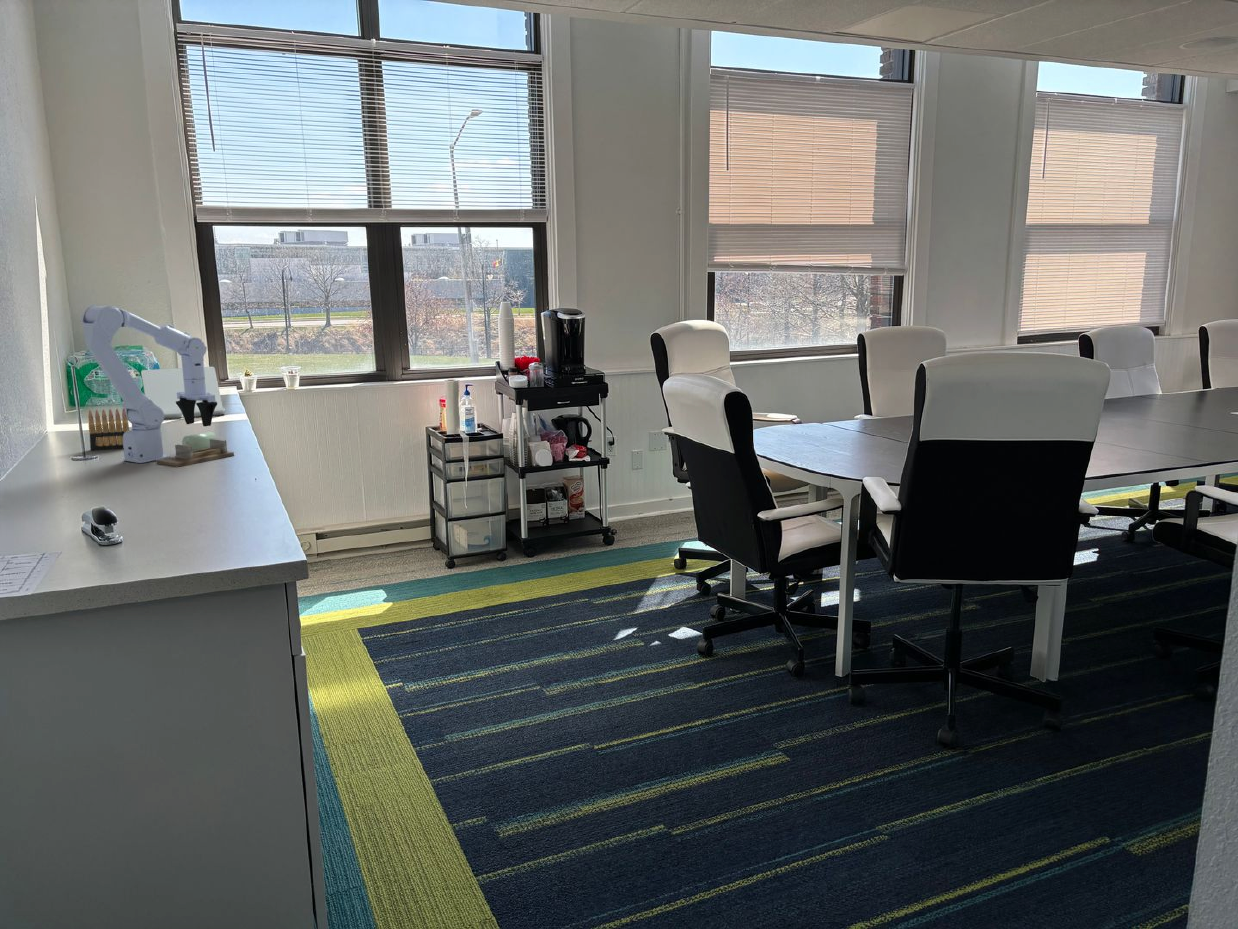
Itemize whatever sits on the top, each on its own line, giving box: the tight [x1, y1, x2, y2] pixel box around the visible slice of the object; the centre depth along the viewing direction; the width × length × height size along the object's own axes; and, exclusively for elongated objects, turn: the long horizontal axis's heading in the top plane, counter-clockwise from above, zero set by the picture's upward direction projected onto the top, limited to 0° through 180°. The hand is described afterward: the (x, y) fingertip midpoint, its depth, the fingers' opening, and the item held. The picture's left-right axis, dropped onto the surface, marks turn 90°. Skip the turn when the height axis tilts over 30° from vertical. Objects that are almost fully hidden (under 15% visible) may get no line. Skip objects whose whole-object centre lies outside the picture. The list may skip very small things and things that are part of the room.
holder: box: [156, 438, 235, 468], centre depth 257 cm, size 18×9×4 cm, turn 151°
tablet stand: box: [140, 366, 226, 420], centre depth 337 cm, size 18×25×17 cm
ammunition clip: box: [88, 407, 130, 452], centre depth 272 cm, size 11×2×12 cm, turn 114°
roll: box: [181, 431, 218, 451], centre depth 270 cm, size 8×5×5 cm, turn 151°
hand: (198, 424), depth 269 cm, fingers open, 7 cm apart
